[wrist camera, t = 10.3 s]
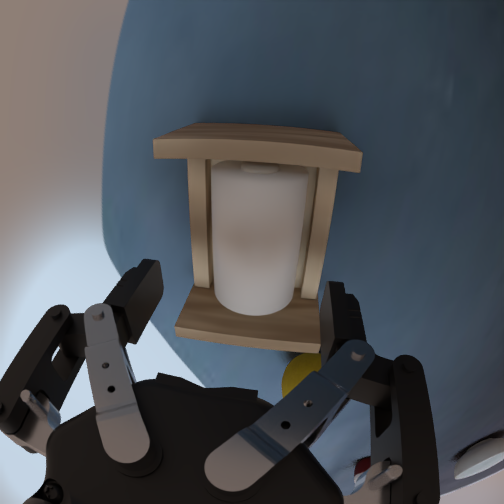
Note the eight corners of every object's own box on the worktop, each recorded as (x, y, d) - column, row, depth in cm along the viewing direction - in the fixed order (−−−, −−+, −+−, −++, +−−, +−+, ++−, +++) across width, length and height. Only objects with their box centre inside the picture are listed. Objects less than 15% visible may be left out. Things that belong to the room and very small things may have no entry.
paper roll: (260, 151, 20) (192, 162, 17) (327, 169, 17) (259, 185, 13) (255, 261, 25) (199, 288, 21) (308, 293, 21) (252, 331, 18)
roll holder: (195, 123, 19) (153, 139, 13) (339, 132, 18) (362, 152, 12) (201, 279, 26) (176, 336, 20) (314, 291, 25) (318, 353, 19)
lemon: (280, 338, 29) (274, 406, 22) (336, 333, 28) (342, 402, 21) (287, 370, 31) (282, 433, 24) (336, 367, 30) (340, 429, 23)
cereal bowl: (486, 430, 40) (492, 455, 34) (515, 426, 41) (521, 446, 35) (439, 461, 49) (442, 483, 43) (473, 456, 50) (477, 475, 44)
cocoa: (387, 449, 43) (394, 500, 33) (388, 458, 46) (394, 505, 35) (341, 460, 46) (343, 511, 35) (345, 468, 48) (347, 515, 38)
